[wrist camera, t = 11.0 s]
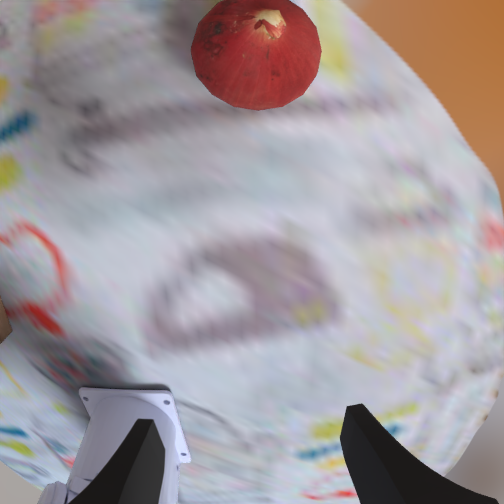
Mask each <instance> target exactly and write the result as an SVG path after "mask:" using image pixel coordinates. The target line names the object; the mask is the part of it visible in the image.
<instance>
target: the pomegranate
mask: <svg viewBox="0 0 504 504" xmlns="http://www.w3.org/2000/svg"><path fill="white" fill-rule="evenodd" d="M321 52H322V51H321V46H320V41H319V37H318V33H317V28H316V26H315V25H314V24H313V22H312V21H311V19H310V18H309V17H308V15H307V14H306V13H305V11H304V10H303V9H302V8H300V7H299V6H297V5H296V4H294V3H292V2H291V1H289V0H223V1H221V2H219V3H217V4H216V5H215V6H214V7H213V9H212V10H211V11H210V12H209V13H208V14H207V15H206V16H205V17H204V18H203V19H202V20H201V21H200V22H199V23H198V27H197V30H196V33H195V36H194V40H193V43H192V46H191V55H192V59H193V63H194V67H195V72H196V76H197V77H198V78H199V80H200V81H201V82H202V83H203V84H204V85H205V87H206V88H207V89H208V90H209V91H210V93H211V94H212V95H214V96H216V97H217V98H219V99H221V100H223V101H225V102H226V103H228V104H230V105H232V106H233V107H240V108H246V109H252V110H264V109H271V108H277V107H283V106H285V105H286V104H288V103H290V102H291V101H293V100H295V99H296V98H298V97H300V96H301V95H303V94H304V93H305V91H306V90H307V88H308V87H309V85H310V84H311V83H312V81H313V80H314V78H315V77H316V75H317V72H318V68H319V63H320V57H321Z"/></svg>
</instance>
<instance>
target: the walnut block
mask: <svg viewBox="0 0 504 504" xmlns="http://www.w3.org/2000/svg"><path fill="white" fill-rule="evenodd" d="M11 332H12V328H11V325H10V323H9V320H8V317H7V314H6V312H5V309H4V306H3V303H2V300H1V296H0V344H1V343H2V342H3V341H4V339H5V338H6V337H7V336H8V335H9V334H10V333H11Z"/></svg>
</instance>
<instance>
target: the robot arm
mask: <svg viewBox="0 0 504 504" xmlns="http://www.w3.org/2000/svg"><path fill="white" fill-rule="evenodd" d="M79 395H80V397H81V399H82V402H83V404H84V406H85V408H86V410H87V412H88V414H89V416H90V418H91V419H90V422H89V424H88V427H87V429H86V432H85V435H84V437H83V440H82V442H81V445H80V448H79V451H78V453H77V456H76V459H75V462H74V464H73V467H72V470H71V473H70V476H69V479H68V482H67V484H66V485H65V484H63V483H61V482H59V481H57V482H55V483H51V484H48V485H47V486H46V487H45V489H44V490H43V492H42V494H41V496H40V499H39V501H38V503H37V504H177V500H178V487H179V475H180V464H181V463H189V462H191V455H190V452H189V449H188V446H187V443H186V440H185V436H184V433H183V430H182V427H181V423H180V420H179V416H178V413H177V410H176V406H175V402H174V399H173V395H172V393H171V392H170V391H167V390H122V389H101V388H86V387H81V388H80V389H79ZM86 397H87V398H86ZM165 400H168V401H165ZM340 441H341V446H342V450H343V455H344V459H345V462H346V465H347V468H348V470H349V473H350V476H351V479H352V481H353V484H354V487H355V490H356V492H357V495H358V498H359V500H360V503H361V504H499V503H498V501H497V500H496V499H494V498H491V497H488V496H484V495H481V494H478V493H475V492H473V491H471V490H468V489H466V488H464V487H462V486H460V485H457V484H456V483H454V482H452V481H450V480H448V479H446V478H445V477H443V476H441V475H440V474H438V473H437V472H435V471H433V470H432V469H430V468H429V467H428V466H426V465H425V464H423V463H422V462H421V461H420V460H418V459H417V458H416V457H415V456H413V455H412V454H411V453H410V452H409V451H408V450H406V449H405V448H404V447H403V446H402V445H401V444H400V443H399V442H398V441H397V440H396V439H395V438H394V437H393V436H392V435H391V434H390V433H389V432H388V431H387V430H386V429H385V428H384V427H383V426H382V425H381V424H380V423H379V422H378V421H377V420H376V418H375V417H374V416H373V415H372V414H371V413H370V412H369V410H368V409H367V408H366V407H365V406H364V405H363V404H357V405H352V406H347V408H346V413H345V417H344V422H343V426H342V431H341V435H340Z"/></svg>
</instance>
